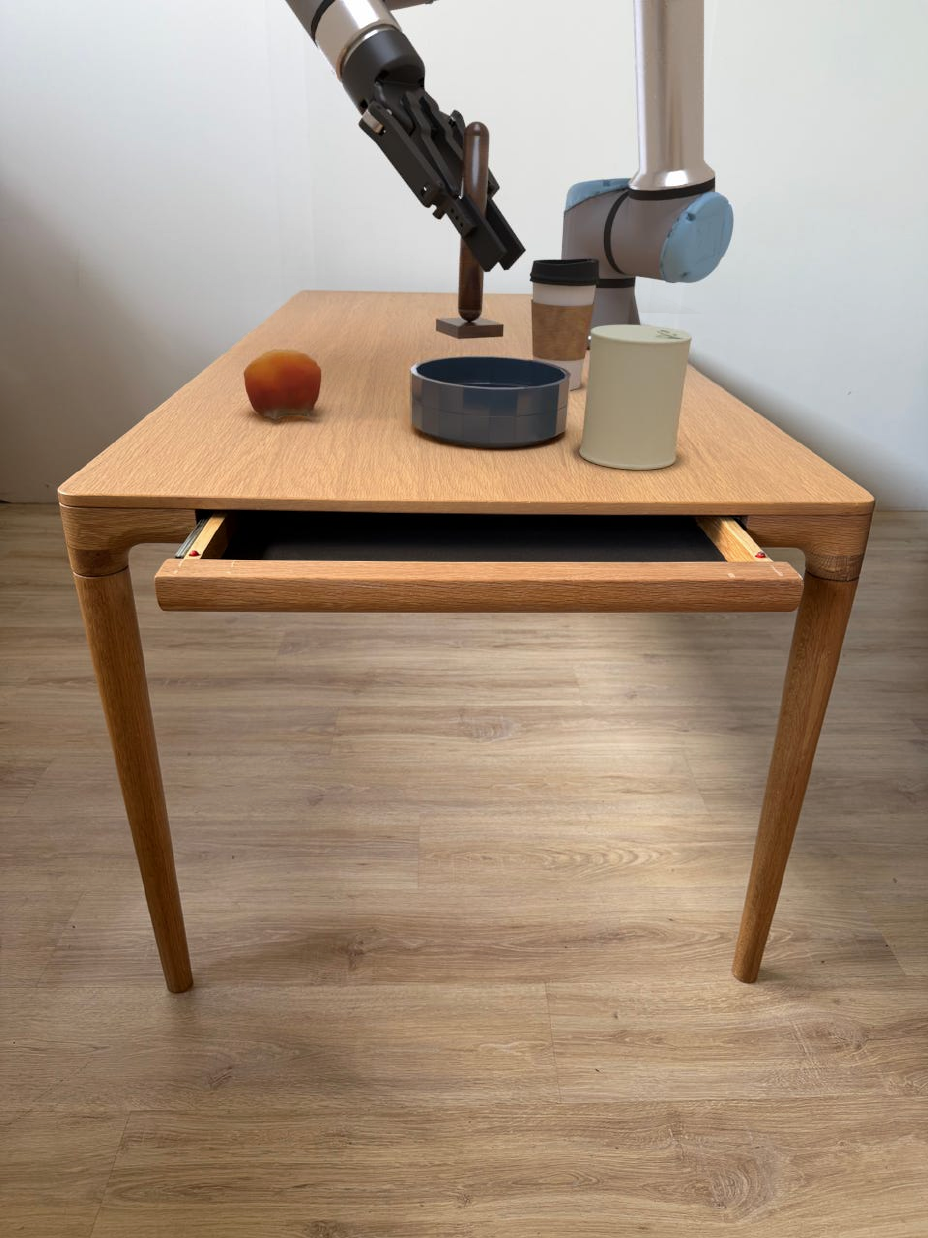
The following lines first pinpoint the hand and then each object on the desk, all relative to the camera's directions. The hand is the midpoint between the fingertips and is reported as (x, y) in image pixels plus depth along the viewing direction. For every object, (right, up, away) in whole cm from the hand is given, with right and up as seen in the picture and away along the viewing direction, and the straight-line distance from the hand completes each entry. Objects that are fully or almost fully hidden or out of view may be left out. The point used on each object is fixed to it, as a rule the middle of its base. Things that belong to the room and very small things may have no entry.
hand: (505, 260), depth 86 cm
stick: (-3, -5, +5) cm, 8 cm away
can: (+12, -18, +3) cm, 22 cm away
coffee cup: (+8, -4, +30) cm, 31 cm away
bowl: (-1, -14, +10) cm, 17 cm away
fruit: (-23, -12, +13) cm, 29 cm away
